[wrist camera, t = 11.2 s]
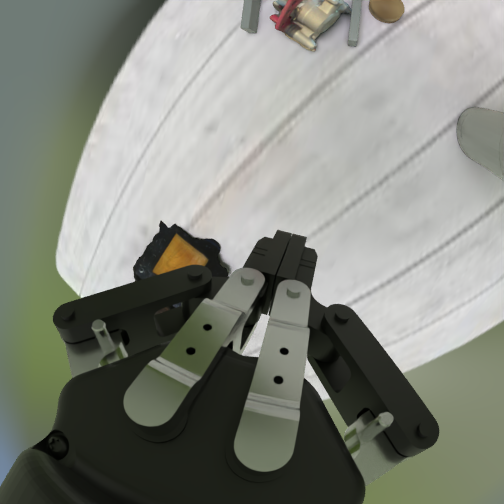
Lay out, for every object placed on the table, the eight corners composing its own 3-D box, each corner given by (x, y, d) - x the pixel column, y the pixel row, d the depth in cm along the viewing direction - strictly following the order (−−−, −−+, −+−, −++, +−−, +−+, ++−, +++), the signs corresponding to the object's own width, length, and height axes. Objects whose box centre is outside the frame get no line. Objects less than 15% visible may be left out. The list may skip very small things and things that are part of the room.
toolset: (131, 204, 56) (178, 282, 40) (206, 204, 69) (273, 266, 53) (123, 327, 75) (159, 401, 59) (179, 315, 88) (222, 379, 72)
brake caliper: (294, -34, 22) (330, -36, 16) (341, 8, 29) (383, 23, 23) (246, 10, 29) (266, 19, 22) (297, 48, 36) (327, 70, 29)
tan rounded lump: (401, 2, 22) (405, -3, 20) (399, 27, 25) (403, 22, 23) (369, -7, 23) (371, -13, 21) (367, 17, 26) (369, 12, 24)
